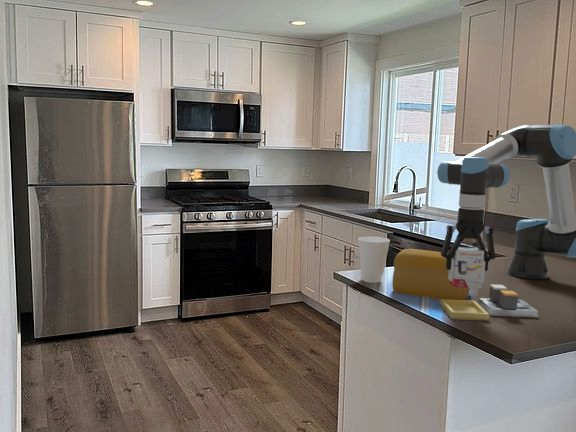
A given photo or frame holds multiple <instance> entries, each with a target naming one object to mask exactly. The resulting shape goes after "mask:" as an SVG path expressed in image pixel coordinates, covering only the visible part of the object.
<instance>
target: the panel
mask: <svg viewBox="0 0 576 432" xmlns="http://www.w3.org/2000/svg"><path fill="white" fill-rule="evenodd" d="M478 304H479V305H480V306H481V307H482V308H483V309H484V310H485V311H486V312H488V313H489V316H490V317H491V316H493V317H495V316H496V317H518V318H519V317H520V318H523V317H524V318H538V315H539V310H537V309H536V308H535V307H533V306H532V305H530V304H529V303H528V302H526V301H525V300H523V299H518V301H517V309H507V308H503V307H501V306H500V305H499V302H493V301H492V300H491V299H490V298H489V297H488V298H486V297H485V298H484V297H481V298H478Z"/></svg>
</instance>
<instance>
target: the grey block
mask: <svg viewBox="0 0 576 432" xmlns="http://www.w3.org/2000/svg"><path fill="white" fill-rule="evenodd" d="M518 300H519V294H518V293H517V292H515V291H514V290H507V291H504V290H500V298H499V305H500V306H501V307H503V308H507V309H517V301H518Z"/></svg>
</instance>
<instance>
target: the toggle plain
mask: <svg viewBox="0 0 576 432" xmlns="http://www.w3.org/2000/svg"><path fill="white" fill-rule="evenodd" d="M500 290H504V291H508V288H507V287H506V286H504V284H493V283H492V284H489V295H488V298H489V299H491V300H492V301H493V302H499V298H500Z"/></svg>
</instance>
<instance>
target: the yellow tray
mask: <svg viewBox="0 0 576 432" xmlns="http://www.w3.org/2000/svg"><path fill="white" fill-rule="evenodd" d="M439 301H440V304H439V306H440V307H441V309H443V310H444V313H446V314H447V315H448V316H449V317H450V319H451V320H456V319H458V321H459V320H460V321H462V320H463V321H465V320H466V321H482V322H483V321H486V322H489V321H490V314H489V313H488V312H487V311H486V310H485V309H484V308H483V307H482V306H481V305H479V302H477V301H476V300H469V299H465V300H445V299H441V300H440V299H439Z"/></svg>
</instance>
